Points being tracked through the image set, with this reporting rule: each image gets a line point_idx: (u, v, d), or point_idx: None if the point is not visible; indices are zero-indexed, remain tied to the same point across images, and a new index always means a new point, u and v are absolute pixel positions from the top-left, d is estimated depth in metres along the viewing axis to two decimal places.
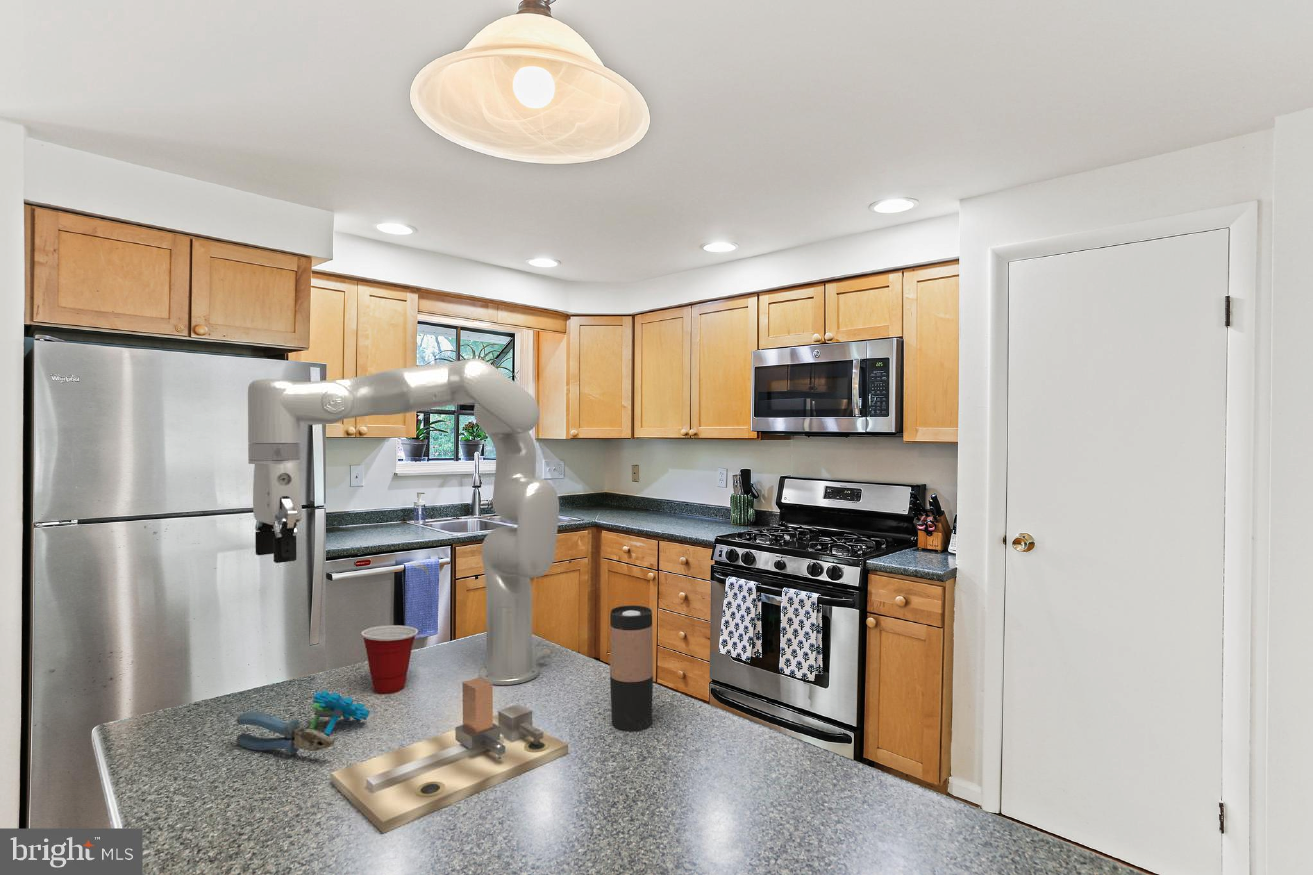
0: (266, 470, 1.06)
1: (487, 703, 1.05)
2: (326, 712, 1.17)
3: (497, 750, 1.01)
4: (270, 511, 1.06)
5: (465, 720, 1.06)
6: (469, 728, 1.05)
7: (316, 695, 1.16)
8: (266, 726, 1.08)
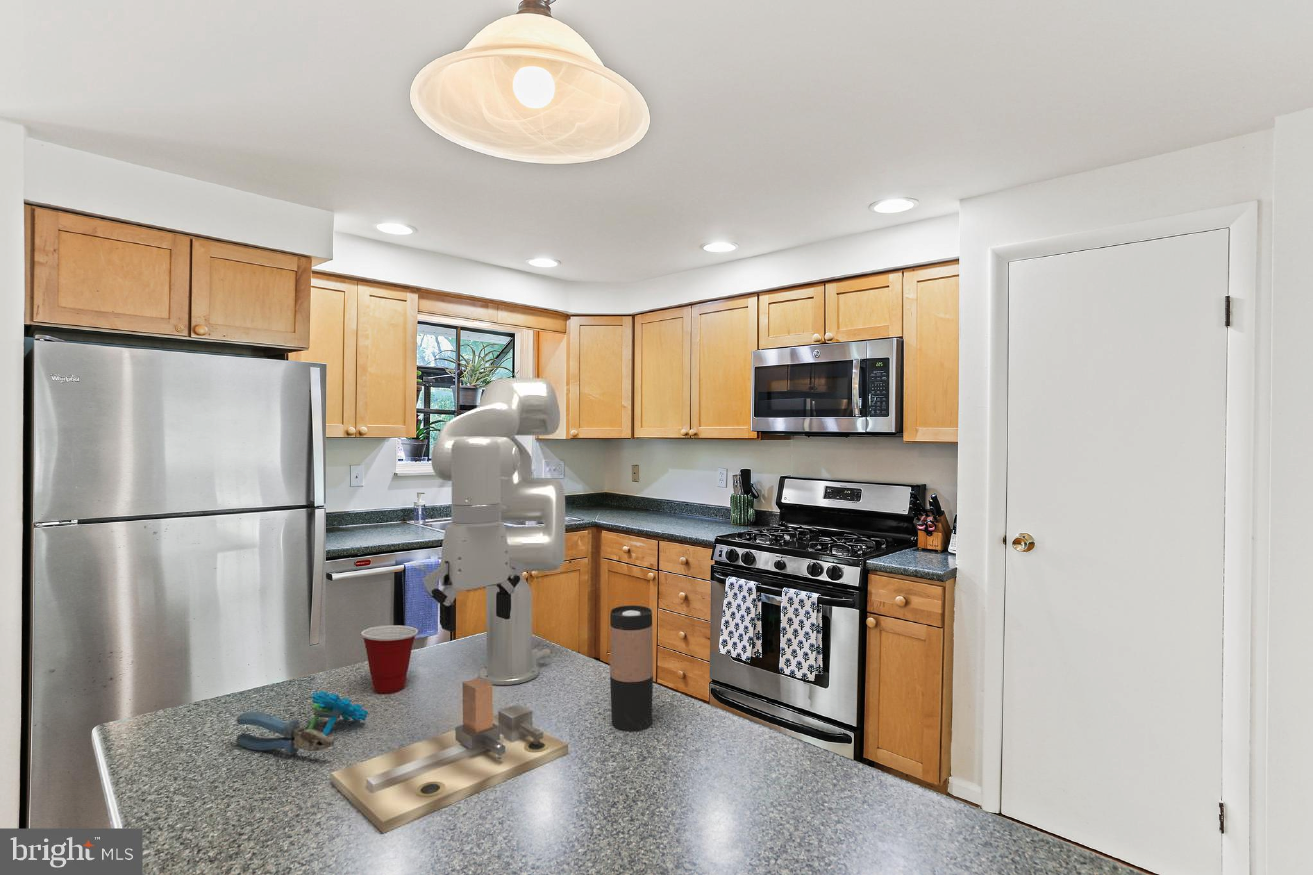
0: (502, 529, 1.06)
1: (487, 703, 1.05)
2: (325, 712, 1.17)
3: (497, 750, 1.01)
4: (508, 569, 1.07)
5: (465, 720, 1.06)
6: (469, 728, 1.05)
7: (315, 695, 1.15)
8: (266, 726, 1.08)
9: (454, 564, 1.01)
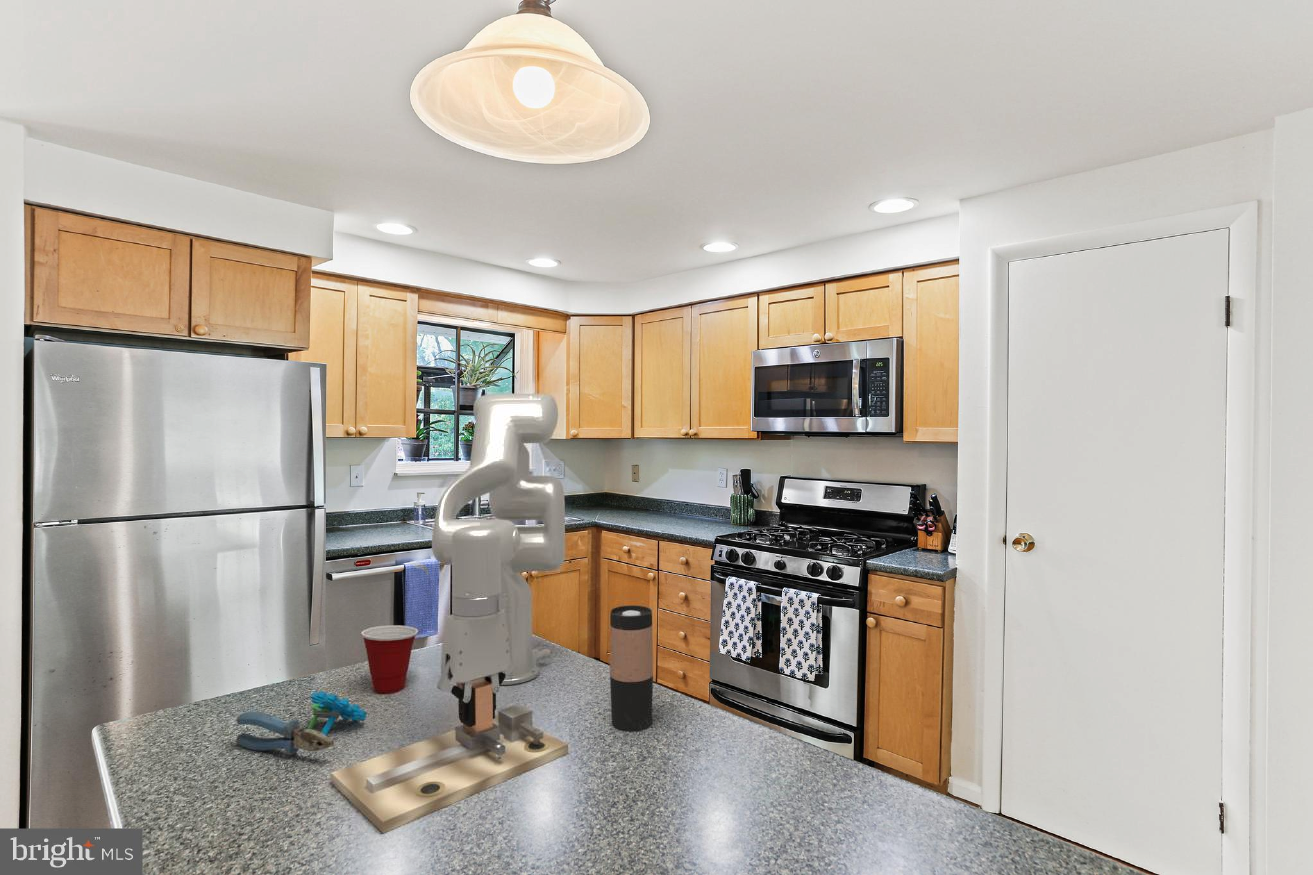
0: (503, 618, 1.07)
1: (487, 703, 1.05)
2: (324, 713, 1.16)
3: (497, 750, 1.01)
4: (509, 656, 1.08)
5: None
6: (469, 728, 1.05)
7: (313, 695, 1.15)
8: (266, 726, 1.08)
9: (455, 658, 1.01)
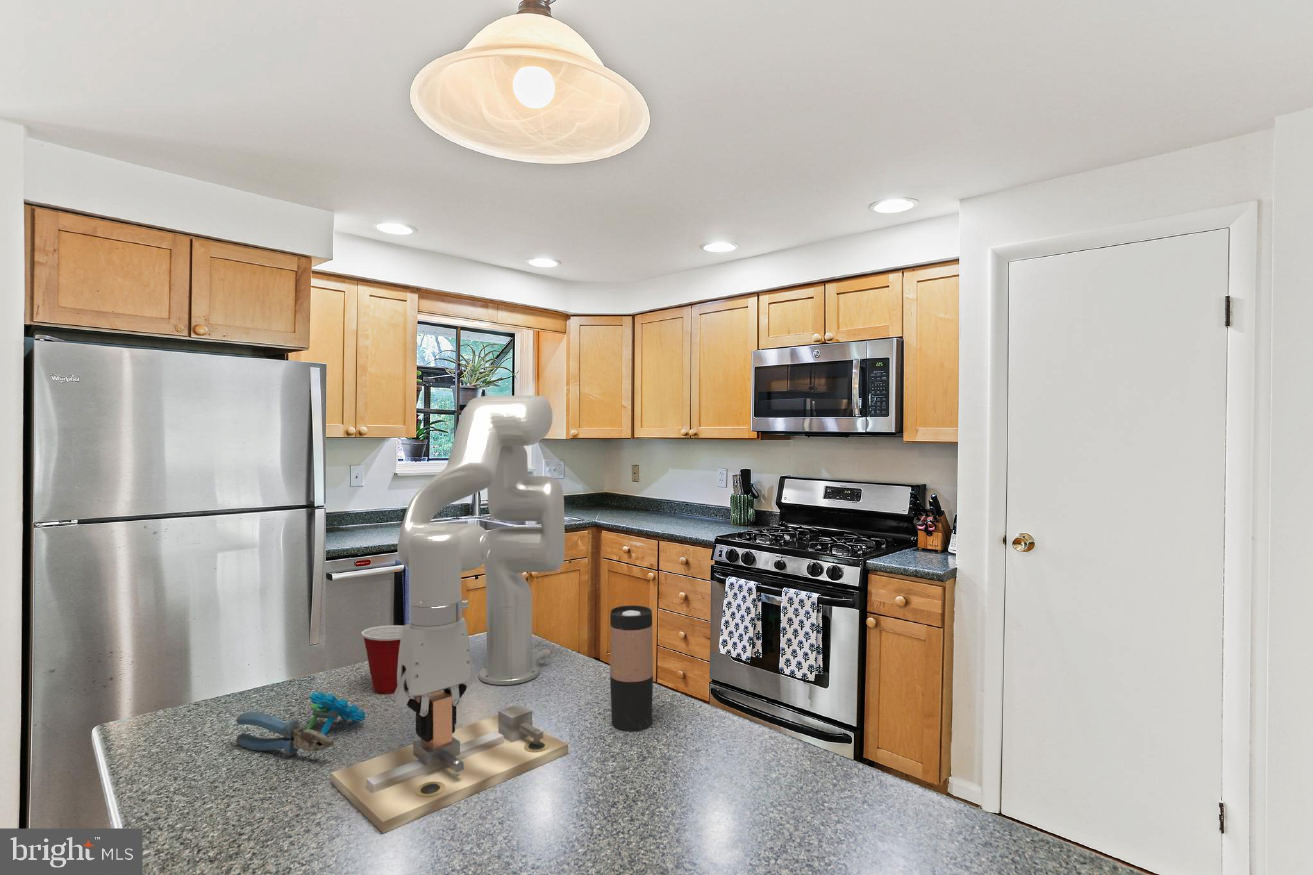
0: (463, 627, 1.02)
1: (446, 717, 1.00)
2: (323, 713, 1.16)
3: (455, 767, 0.96)
4: (470, 667, 1.03)
5: None
6: (427, 743, 1.00)
7: (312, 696, 1.15)
8: (266, 726, 1.08)
9: (411, 670, 0.96)
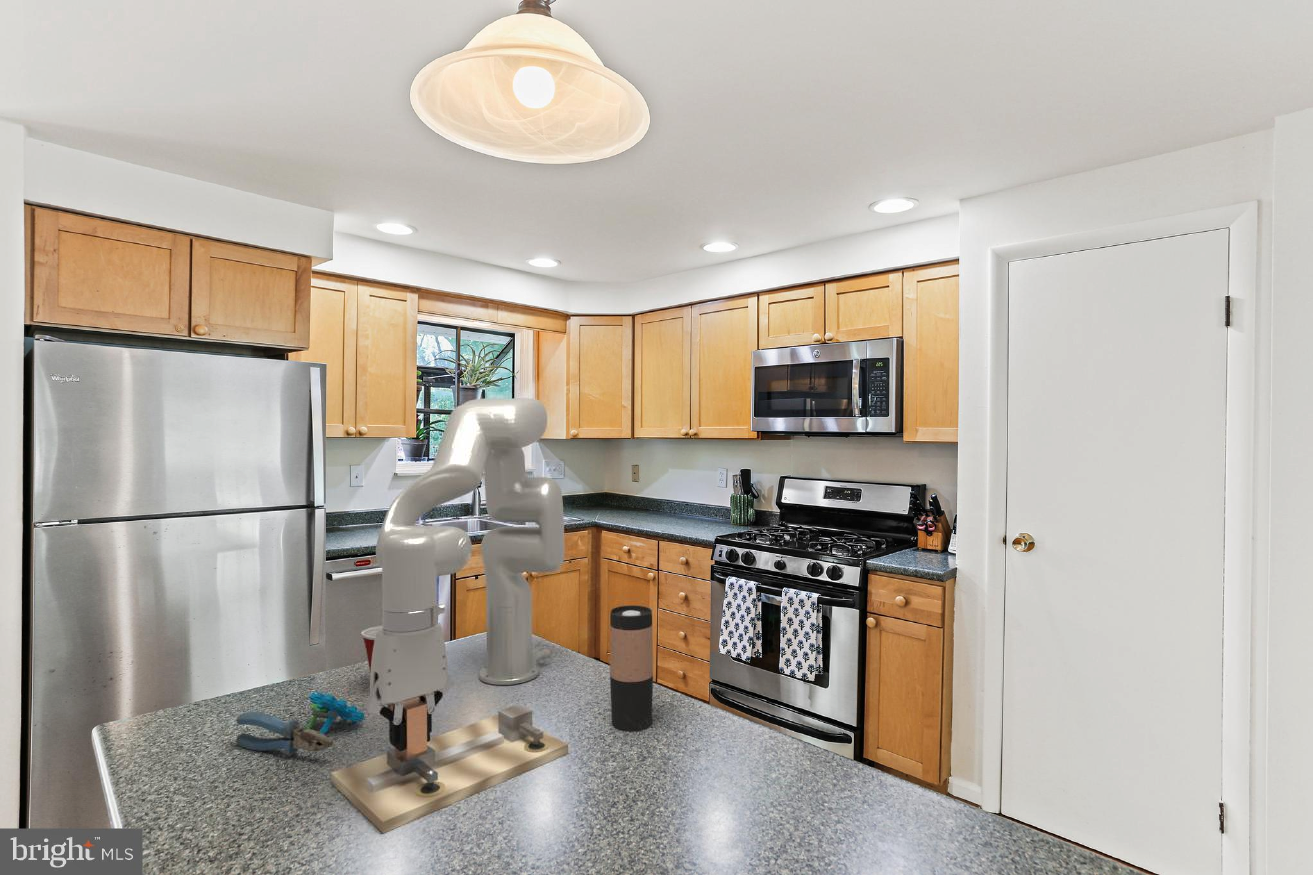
0: (439, 632, 0.99)
1: (420, 725, 0.97)
2: (322, 713, 1.16)
3: (428, 777, 0.93)
4: (446, 674, 1.00)
5: None
6: (401, 752, 0.97)
7: (312, 696, 1.15)
8: (265, 726, 1.08)
9: (383, 677, 0.93)
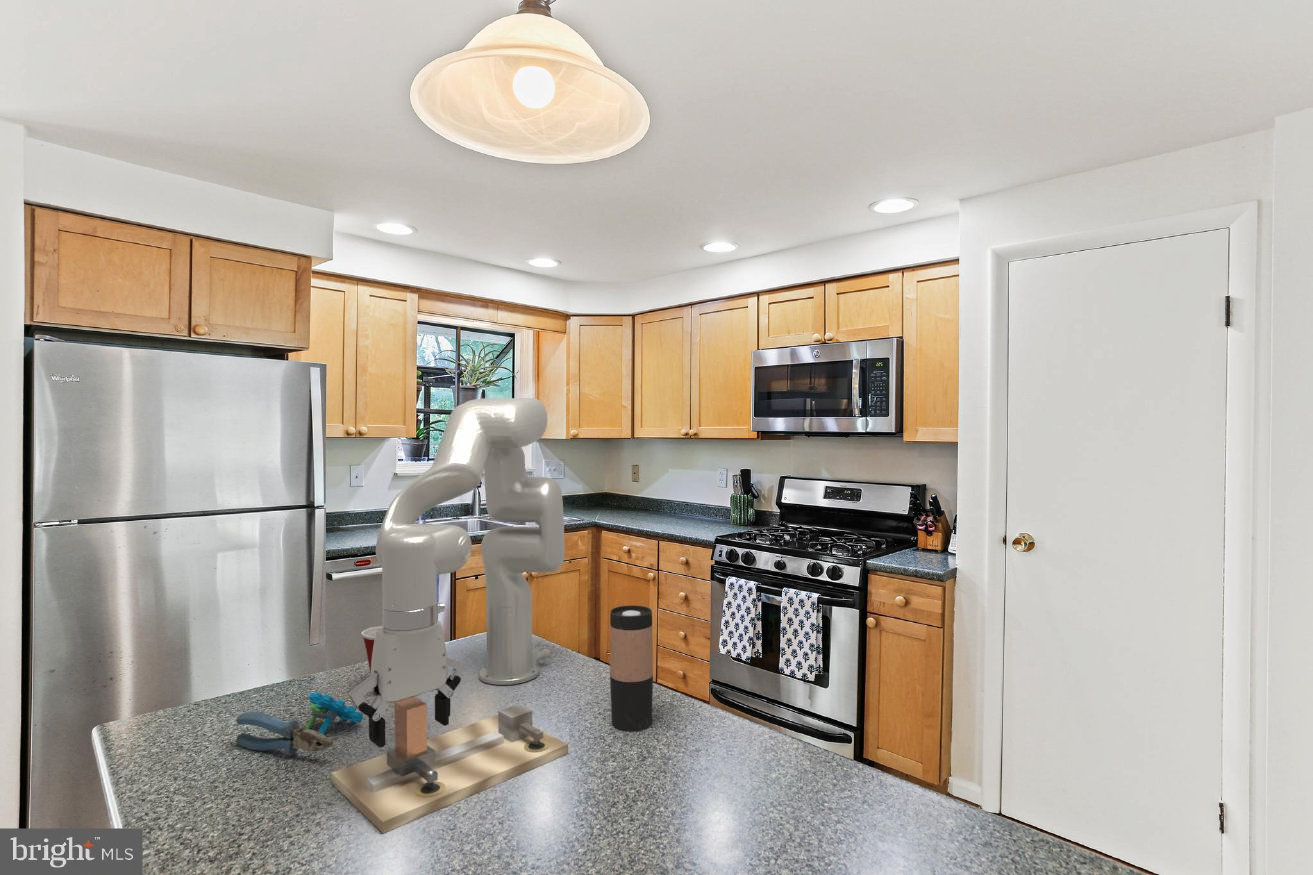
0: (439, 631, 0.99)
1: (420, 725, 0.97)
2: (321, 713, 1.16)
3: (428, 777, 0.93)
4: (446, 672, 1.00)
5: (397, 743, 0.98)
6: (401, 752, 0.97)
7: (310, 696, 1.15)
8: (265, 726, 1.08)
9: (383, 676, 0.93)
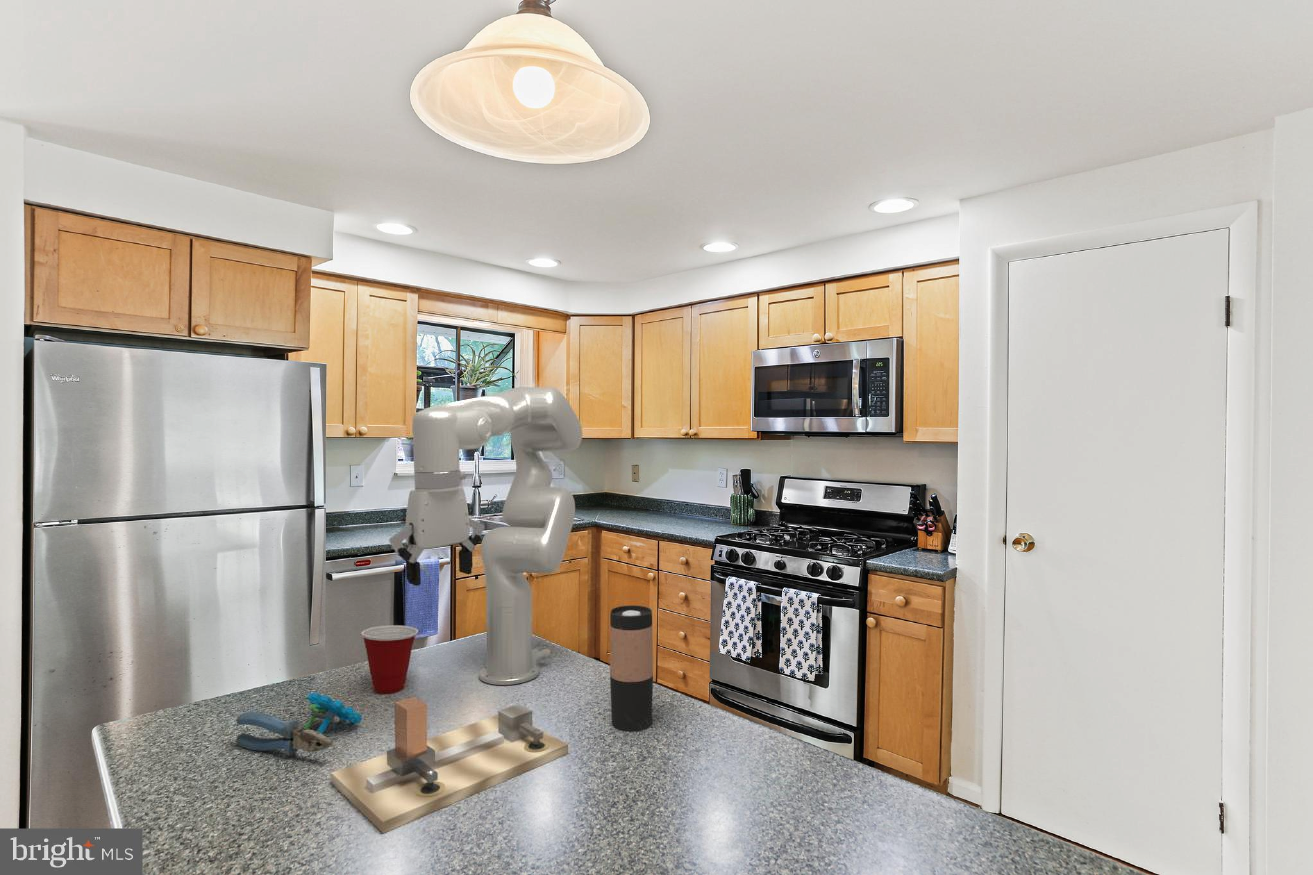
0: (462, 493, 1.17)
1: (420, 725, 0.97)
2: (320, 714, 1.16)
3: (428, 777, 0.93)
4: (468, 529, 1.18)
5: (397, 743, 0.98)
6: (401, 752, 0.97)
7: (309, 696, 1.15)
8: (265, 726, 1.08)
9: (417, 525, 1.12)
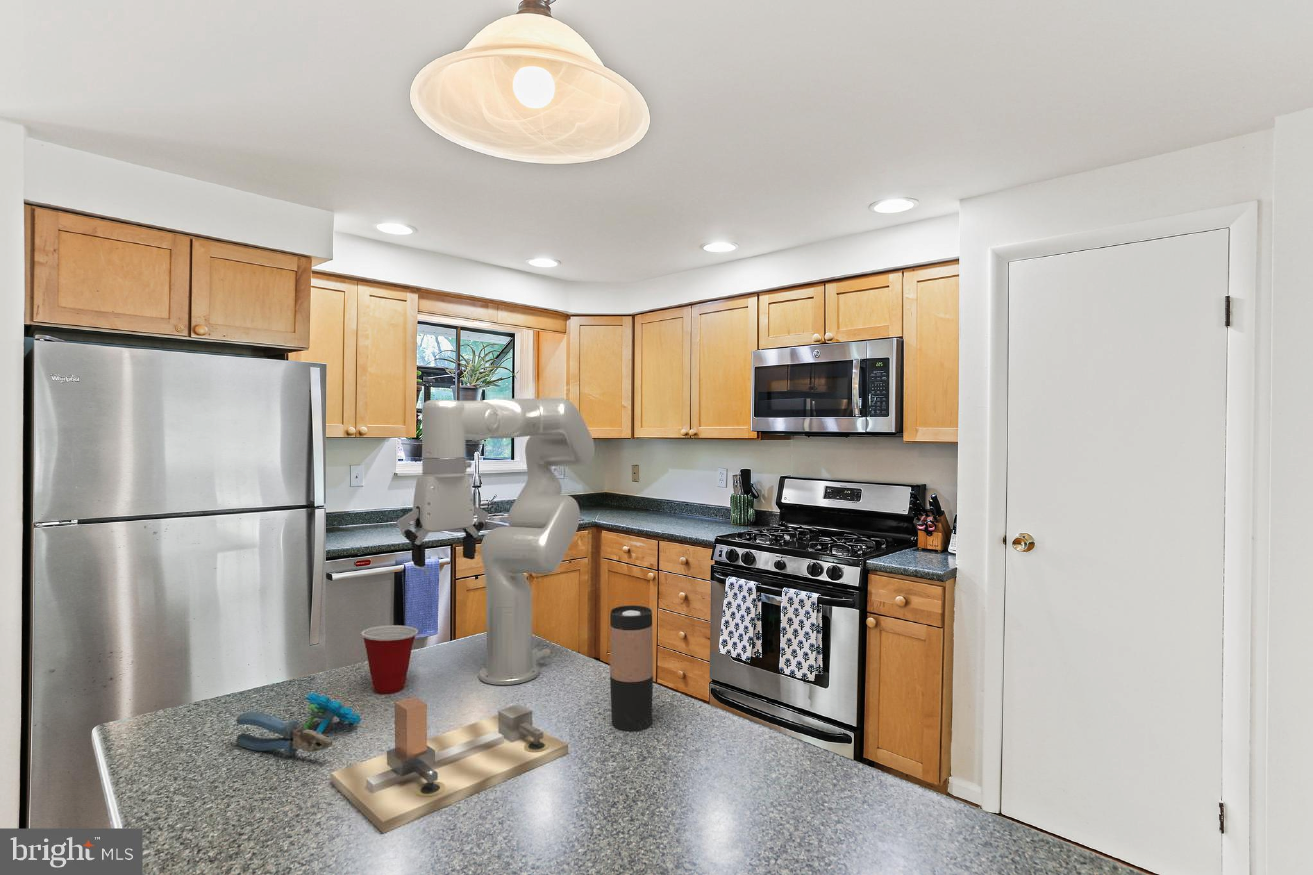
0: (467, 480, 1.22)
1: (420, 725, 0.97)
2: (319, 714, 1.16)
3: (428, 777, 0.93)
4: (473, 515, 1.23)
5: (397, 743, 0.98)
6: (401, 752, 0.97)
7: (308, 696, 1.15)
8: (265, 726, 1.08)
9: (424, 509, 1.17)
